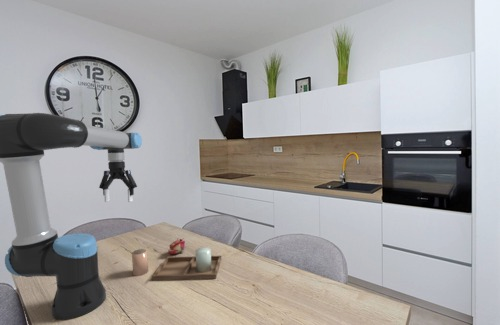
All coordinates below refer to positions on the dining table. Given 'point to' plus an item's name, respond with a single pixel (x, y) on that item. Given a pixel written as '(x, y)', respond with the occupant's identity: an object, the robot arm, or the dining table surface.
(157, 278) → the wooden divided tray
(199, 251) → the pale green rounded cylinder
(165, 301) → the dining table surface
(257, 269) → the dining table surface
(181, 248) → the flower
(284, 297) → the dining table surface
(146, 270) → the pink cylinder
